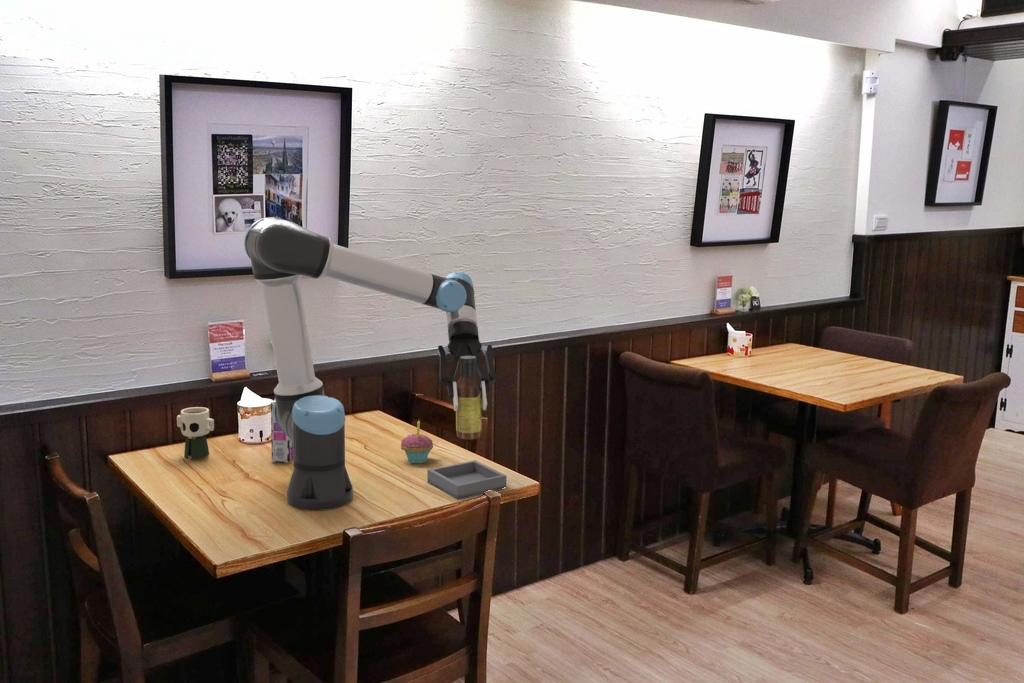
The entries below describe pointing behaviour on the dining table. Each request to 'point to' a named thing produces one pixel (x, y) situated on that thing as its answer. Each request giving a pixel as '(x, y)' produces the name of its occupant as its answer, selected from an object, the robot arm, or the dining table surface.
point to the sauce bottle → (468, 401)
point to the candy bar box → (280, 442)
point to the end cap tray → (466, 479)
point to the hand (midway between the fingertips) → (470, 407)
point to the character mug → (195, 431)
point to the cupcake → (417, 446)
